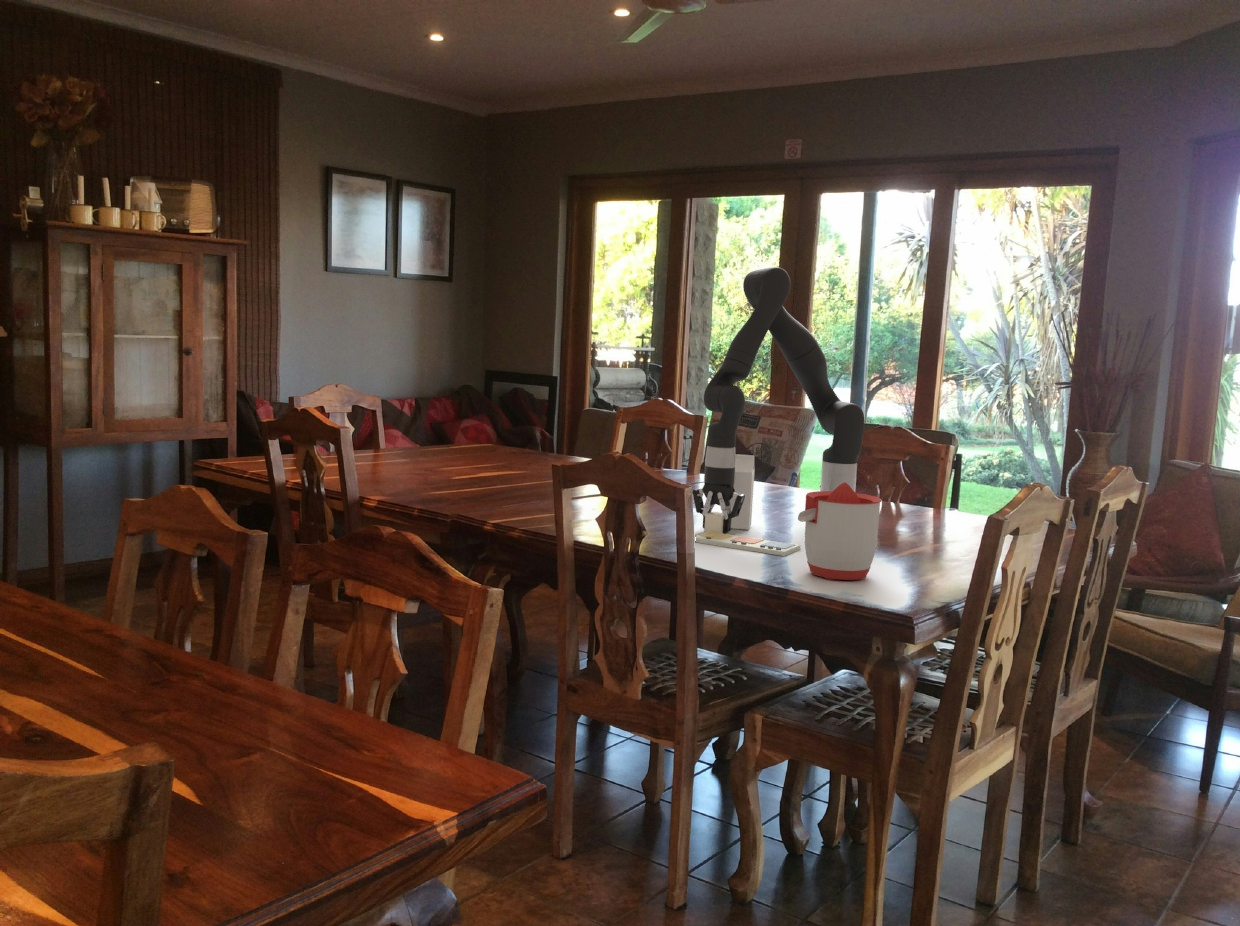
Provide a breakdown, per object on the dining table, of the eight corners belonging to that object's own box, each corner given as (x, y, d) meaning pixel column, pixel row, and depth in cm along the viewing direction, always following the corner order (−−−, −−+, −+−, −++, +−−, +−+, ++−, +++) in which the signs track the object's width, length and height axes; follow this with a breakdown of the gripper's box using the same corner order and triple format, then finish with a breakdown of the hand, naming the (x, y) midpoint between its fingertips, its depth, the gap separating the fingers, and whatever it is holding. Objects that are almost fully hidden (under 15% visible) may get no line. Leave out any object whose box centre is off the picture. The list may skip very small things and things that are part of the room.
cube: (712, 530, 272) (713, 511, 271) (728, 533, 270) (729, 513, 269) (704, 533, 268) (705, 513, 267) (720, 535, 266) (721, 515, 265)
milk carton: (748, 530, 275) (753, 457, 273) (721, 528, 276) (725, 455, 274) (751, 525, 282) (755, 454, 280) (724, 523, 283) (728, 452, 281)
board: (709, 535, 265) (709, 530, 265) (800, 549, 253) (800, 544, 253) (690, 541, 257) (690, 535, 257) (783, 556, 245) (784, 550, 245)
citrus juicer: (782, 567, 233) (788, 476, 230) (855, 566, 237) (862, 477, 234) (810, 584, 218) (817, 487, 215) (888, 583, 222) (896, 488, 219)
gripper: (752, 466, 266) (748, 533, 268) (701, 460, 274) (697, 526, 276) (740, 469, 260) (735, 538, 262) (687, 462, 267) (684, 530, 269)
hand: (716, 531), depth 269 cm, fingers closed on cube, 4 cm apart
